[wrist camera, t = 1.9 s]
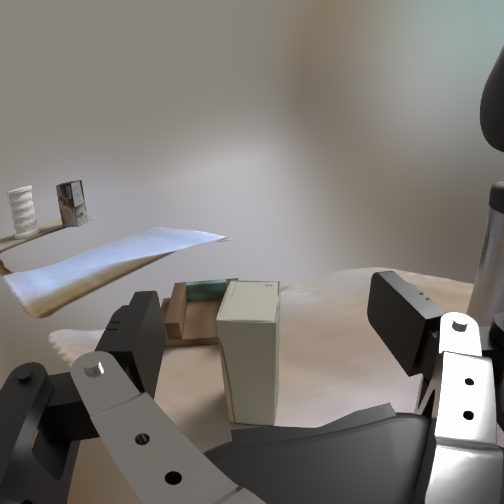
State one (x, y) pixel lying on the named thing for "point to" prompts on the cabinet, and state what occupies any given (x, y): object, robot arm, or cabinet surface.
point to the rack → (193, 312)
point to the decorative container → (23, 212)
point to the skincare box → (250, 350)
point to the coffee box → (72, 203)
